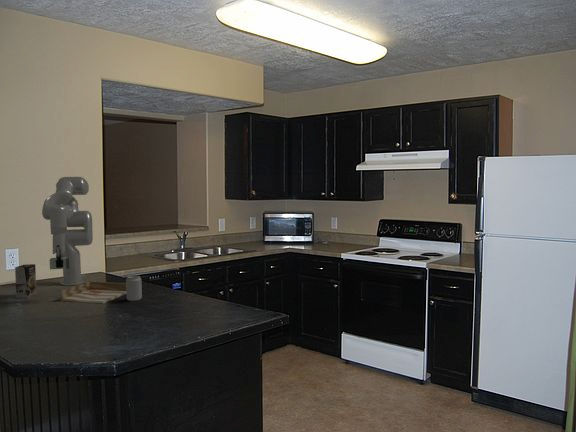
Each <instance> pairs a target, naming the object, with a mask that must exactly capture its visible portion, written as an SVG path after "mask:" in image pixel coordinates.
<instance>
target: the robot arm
mask: <svg viewBox="0 0 576 432" xmlns="http://www.w3.org/2000/svg"><path fill="white" fill-rule="evenodd" d="M89 187H90V186H89V183H88V181H87V180H86V178H85V177H82V176H63V177H61V178H59V179H58V181H57V182H56V184H55V192H54V193H53V194H51V195H49V196H48V197H46V199H44V201H43V206H42V211H41V215H42V218H43V219H45V220H47V221H48V220H49V223H50V235H52V254H53V255H55V258H56V268H63V260H62V257H70V261H71V267H70V269H62V278H63V279H62V281H60V285H61V286H69V287H70V286H77V285H80V284H83V283H85V280H84V278H85V277H86V274H82V270H81V269H82V267H81V265H82V263H81V252H80V251H79V249H78V248H77V247H76V246H79V247H81V246H82V247H83V246H90V245H91V244H93V238H94V237H93V234H94V232H93V231H94V230H93V217H92V213H91V212H90V211H88V210H79V202H78V200H77V199H76V197H74V196H85V195H88V193H89V190H90V188H89ZM68 228H74V229H68ZM75 228H78V229H75ZM80 228H82V229H80Z"/></svg>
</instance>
